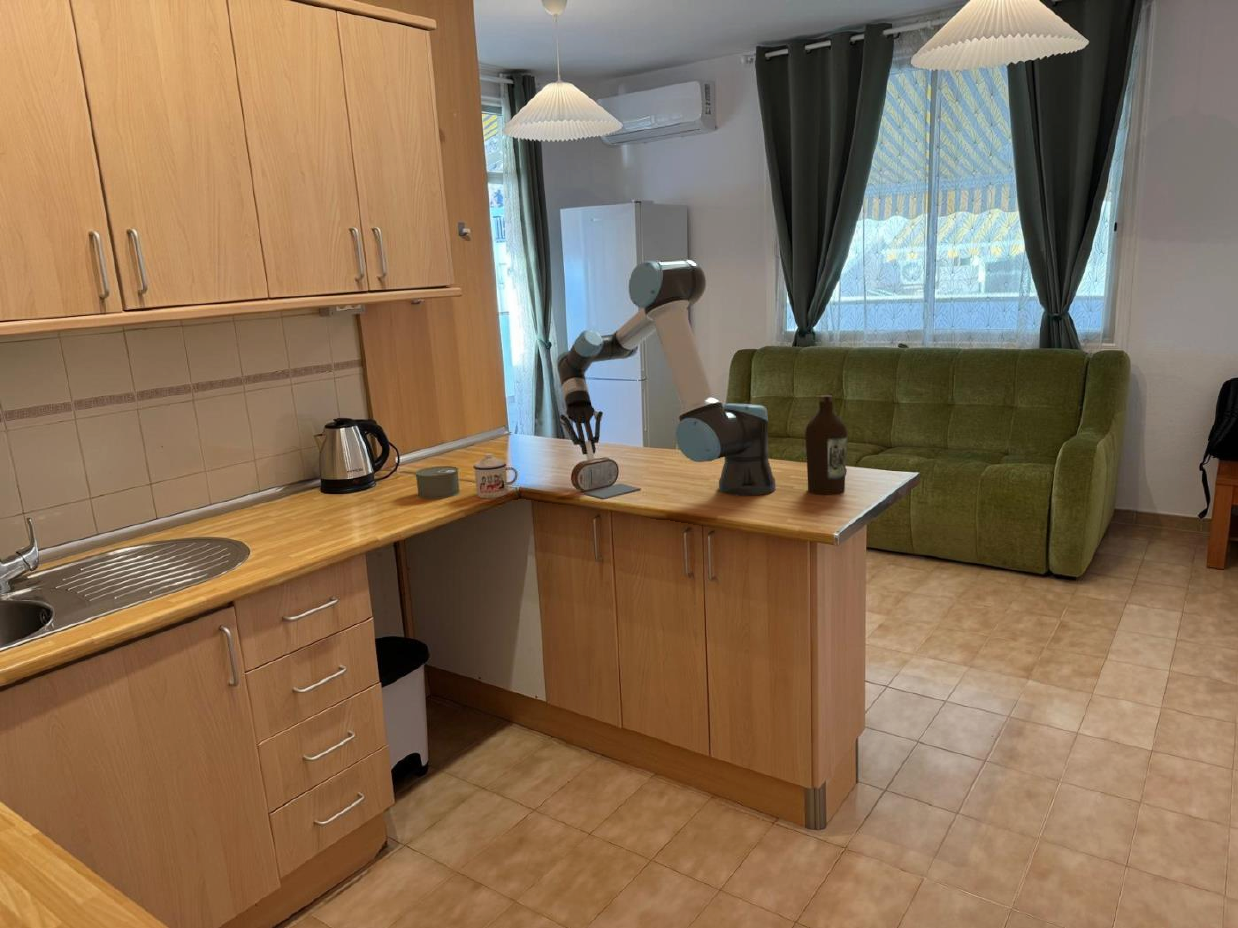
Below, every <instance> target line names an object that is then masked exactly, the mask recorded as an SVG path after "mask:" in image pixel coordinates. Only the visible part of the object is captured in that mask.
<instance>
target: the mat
mask: <svg viewBox="0 0 1238 928" xmlns="http://www.w3.org/2000/svg"><path fill="white" fill-rule="evenodd" d="M637 490H638V491H641V490H642V488H641V487H636V486H633V485H628V484H624V483H616V484H613V485H611V486H608V487H604V488H599V489H595V490H591V491H583V495H586V496H587V495H588V496H590V497H594V498H598V499H600V500H605V499H610V498H614V497H618V496H621V495H625V494H630V493H634V492H637Z"/></svg>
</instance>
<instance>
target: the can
mask: <svg viewBox="0 0 1238 928" xmlns="http://www.w3.org/2000/svg"><path fill="white" fill-rule="evenodd" d="M415 477H416V478H415V479H416V486H417V493H418V494H417V495H418V498H419V499H420V498H421V499H424V500H440V499H441V500H442V499H446V498H451V497H454V496H457V495H459V494H460V493H459V492H461V491H460V483H459V482H460V480H459V468H458V467H456V466H450V465H446V466H445V465H441V466H431V467H425V468H423V469H422V468H421V469H418V470H417V471H415Z"/></svg>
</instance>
